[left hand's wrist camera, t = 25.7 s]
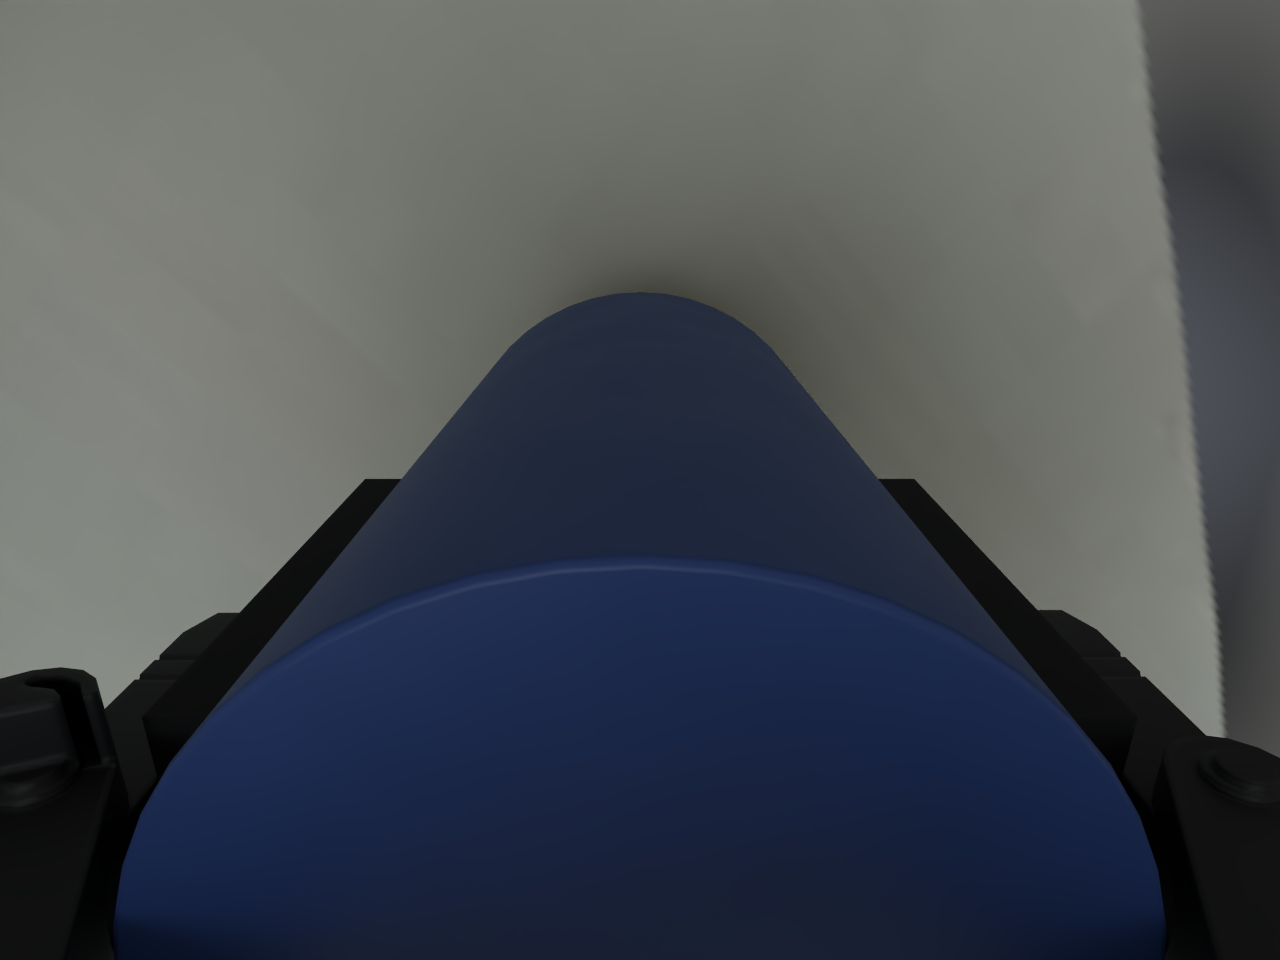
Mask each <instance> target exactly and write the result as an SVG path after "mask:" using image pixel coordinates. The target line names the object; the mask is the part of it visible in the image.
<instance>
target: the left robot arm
mask: <svg viewBox="0 0 1280 960" xmlns="http://www.w3.org/2000/svg"><path fill="white" fill-rule="evenodd" d="M400 480H401V479H365V480H364V481H363V482H362V483H361V484H360V485H359V486H358V487H357V488H356V489H355V491H354V492H353V493H352V494H351V495H350V496H349V497H348V498H347V499H346V500H345V501H344V502H343V503H342V504H341V505H340V506H339V508H338V509H337V510H336V511H335V512H334V513H333V514H332V515H331V516H330V517H329V518H328V519H327V520H326V521H325V522H324V524H323V525H322V526H321V527H320V528H319V529H318V530H317V531H316V532H315V533H314V534H313V535H312V536H311V537H310V538H309V539H308V541H307V542H306V543H305V544H304V545H303V546H302V547H301V548H300V549H299V550H298V551H297V552H296V553H295V554H294V555H293V557H292V558H291V559H290V560H289V561H288V562H287V563H286V564H285V565H284V566H283V567H282V568H281V569H280V570H279V571H278V572H277V574H276V575H275V576H274V577H273V578H272V579H271V580H270V581H269V582H268V583H267V584H266V585H265V586H264V587H263V588H262V590H261V591H260V592H259V593H258V594H257V595H256V596H255V597H254V598H253V599H252V600H251V601H250V602H249V603H248V604H247V605H246V607H245V608H244V609H243V610H242V611H241V612H240V613H217V614H215V615H214V616H212V617H210V618H208V619H206V620H205V621H203V622H201V623H199V624H197V625H196V626H194V627H192V628H190V629H189V630H187V631H185V632H183V633H182V634H181V635H180V636H179V637H178V638H177V639H176V640H175V641H174V642H173V643H172V644H171V645H170V646H169V647H168V648H167V649H166V650H165V651H164V652H163V653H162V654H161V655H160V659H159V660H154V661H153V662H152V663H151V664H150V665H149V666H148V667H147V668H146V669H145V670H144V671H143V672H142V673H141V674H140V679H139V680H134V681H133V682H132V683H131V684H130V685H129V686H128V687H127V688H126V689H125V690H124V691H123V692H122V693H121V694H120V695H119V696H118V697H117V698H116V699H115V700H114V701H112V702H111V703H110V704H109V705H108V706H107V707H106V708H105V709H104V706H103V702H102V698H101V695H100V691H99V688H98V684H97V680H96V678H95V677H93V676H92V675H90V674H89V673H87V672H85V671H84V670H78V669H70V668H61V667H60V668H51V669H41V670H32V671H28V672H24V673H20V674H17V675H13V676H9V677H5V678H1V679H0V960H114V932H113V922H114V915H115V909H116V902H117V896H118V889H119V883H120V876H121V870H122V865H123V862H124V860H125V857H126V854H127V851H128V848H129V845H130V843H131V840H132V837H133V834H134V831H135V828H136V826H137V823H138V820H139V817H140V814H141V812H142V810H143V808H144V807H145V805H146V803H147V801H148V800H149V798H150V796H151V794H152V793H153V791H154V789H155V788H156V786H157V784H158V782H159V781H160V779H161V777H162V775H163V774H164V772H165V770H166V768H167V767H168V765H169V763H170V761H171V760H172V759H173V758H174V757H175V755H176V754H177V753H178V752H179V750H180V749H181V748H182V747H183V746H184V744H185V743H186V742H187V741H188V739H189V738H190V737H191V736H192V735H193V733H194V732H195V731H196V730H197V728H198V727H199V726H200V725H201V724H202V722H203V721H204V720H205V719H206V718H207V716H208V715H209V714H210V713H211V711H212V710H213V709H214V708H215V707H216V705H217V704H218V703H219V702H220V700H221V699H222V698H223V697H224V696H225V694H226V693H227V692H228V691H229V689H230V688H231V687H232V686H233V685H234V683H235V682H236V681H237V680H238V678H239V677H240V676H241V675H242V674H243V672H244V671H245V670H246V669H247V667H248V666H249V665H250V664H251V663H252V661H253V660H254V659H255V658H256V656H257V655H258V654H259V653H260V652H261V650H262V649H263V648H264V647H265V645H266V644H267V643H268V642H269V641H270V639H271V638H272V637H273V636H274V634H275V633H276V632H277V631H278V630H279V628H280V627H281V626H282V625H283V623H284V622H285V621H286V620H287V619H288V617H289V616H290V615H291V614H292V612H293V611H294V610H295V609H296V608H297V606H298V605H299V604H300V603H301V601H302V600H303V599H304V598H305V597H306V595H307V594H308V593H309V592H310V590H311V589H312V588H313V587H314V586H315V584H316V583H317V582H318V581H319V579H320V578H321V577H322V576H323V575H324V573H325V572H326V571H327V570H328V568H329V567H330V566H331V565H332V564H333V562H334V561H335V560H336V559H337V557H338V556H339V555H340V554H341V553H342V551H343V550H344V549H345V548H346V546H347V545H348V544H349V543H350V542H351V540H352V539H353V538H354V537H355V535H356V534H357V533H358V532H359V531H360V529H361V528H362V527H363V526H364V524H365V523H366V522H367V521H368V520H369V518H370V517H371V516H372V515H373V513H374V512H375V511H376V510H377V509H378V507H379V506H380V505H381V504H382V502H383V501H384V500H385V499H386V498H387V496H388V495H389V494H390V493H391V491H392V490H393V489H394V488H395V487H396V485H397V484H398V483H399V482H400ZM878 480H879V481H880V482H881V483H882V485H883V486H884V487H885V488H886V490H887V491H888V492H889V493H890V494H891V496H892V497H893V498H894V499H895V501H896V502H897V503H898V504H899V506H900V507H901V508H902V509H903V510H904V512H905V513H906V514H907V515H908V517H909V518H910V519H911V520H912V521H913V523H914V524H915V525H916V526H917V528H918V529H919V530H920V531H921V532H922V534H923V535H924V536H925V537H926V539H927V540H928V541H929V542H930V544H931V545H932V546H933V547H934V548H935V550H936V551H937V552H938V553H939V555H940V556H941V557H942V558H943V559H944V561H945V562H946V563H947V564H948V566H949V567H950V568H951V569H952V570H953V572H954V573H955V574H956V575H957V577H958V578H959V579H960V580H961V582H962V583H963V584H964V585H965V586H966V588H967V589H968V590H969V591H970V593H971V594H972V595H973V596H974V597H975V599H976V600H977V601H978V602H979V604H980V605H981V606H982V607H983V608H984V610H985V611H986V612H987V613H988V615H989V616H990V617H991V618H992V620H993V621H994V622H995V623H996V624H997V626H998V627H999V628H1000V629H1001V631H1002V632H1003V633H1004V634H1005V635H1006V637H1007V638H1008V639H1009V640H1010V642H1011V643H1012V644H1013V645H1014V646H1015V648H1016V649H1017V650H1018V651H1019V653H1020V654H1021V655H1022V656H1023V658H1024V659H1025V660H1026V661H1027V662H1028V664H1029V665H1030V666H1031V667H1032V669H1033V670H1034V671H1035V672H1036V673H1037V675H1038V676H1039V677H1040V678H1041V680H1042V681H1043V682H1044V683H1045V684H1046V686H1047V687H1048V688H1049V689H1050V691H1051V692H1052V693H1053V694H1054V696H1055V697H1056V698H1057V699H1058V700H1059V702H1060V703H1061V704H1062V705H1063V707H1064V708H1065V709H1066V710H1067V711H1068V713H1069V714H1070V715H1071V716H1072V718H1073V719H1074V720H1075V721H1076V722H1077V724H1078V725H1079V726H1080V727H1081V729H1082V730H1083V731H1084V732H1085V734H1086V735H1087V736H1088V737H1089V738H1090V740H1091V741H1092V742H1093V743H1094V745H1095V746H1096V747H1097V748H1098V749H1099V751H1100V752H1101V753H1102V754H1103V756H1104V757H1105V758H1106V759H1107V760H1108V762H1109V763H1110V764H1111V766H1112V768H1113V769H1114V771H1115V773H1116V775H1117V777H1118V778H1119V780H1120V782H1121V784H1122V785H1123V787H1124V789H1125V791H1126V793H1127V794H1128V796H1129V798H1130V800H1131V801H1132V803H1133V805H1134V807H1135V808H1136V810H1137V812H1138V814H1139V816H1140V819H1141V821H1142V824H1143V827H1144V830H1145V833H1146V836H1147V839H1148V842H1149V845H1150V848H1151V851H1152V854H1153V856H1154V859H1155V862H1156V865H1157V869H1158V873H1159V880H1160V887H1161V894H1162V901H1163V908H1164V915H1165V921H1166V943H1165V960H1280V758H1279V757H1276V756H1274V755H1272V754H1270V753H1268V752H1266V751H1264V750H1262V749H1260V748H1257V747H1254V746H1251V745H1247V744H1244V743H1241V742H1238V741H1234V740H1231V739H1228V738H1220V737H1212V736H1206V735H1205V734H1204V733H1203V732H1202V731H1201V730H1200V729H1199V728H1198V727H1197V726H1196V725H1195V724H1194V723H1193V722H1192V721H1191V720H1189V719H1188V718H1187V717H1186V716H1185V715H1184V714H1183V713H1182V712H1181V711H1180V710H1179V709H1178V708H1177V707H1176V706H1175V705H1174V704H1173V703H1172V702H1171V701H1170V700H1169V699H1168V698H1167V697H1166V696H1165V695H1164V694H1163V693H1162V692H1161V691H1160V690H1159V689H1158V688H1156V687H1155V686H1154V685H1153V684H1152V683H1151V682H1150V681H1149V680H1148V679H1147V678H1146V677H1141V676H1140V671H1139V670H1138V669H1137V668H1136V667H1135V666H1134V665H1133V664H1132V663H1131V662H1130V661H1129V660H1128V659H1127V658H1126V657H1121V655H1120V652H1119V651H1118V650H1117V649H1116V648H1115V647H1114V646H1113V645H1112V644H1111V643H1110V642H1109V641H1108V640H1107V639H1106V638H1105V637H1104V636H1103V635H1102V634H1101V633H1100V632H1099V631H1098V630H1096V629H1095V628H1093V627H1091V626H1089V625H1087V624H1086V623H1084V622H1082V621H1080V620H1078V619H1077V618H1075V617H1073V616H1071V615H1069V614H1068V613H1066V612H1064V611H1062V610H1037V609H1036V608H1035V607H1034V606H1033V605H1032V604H1031V603H1030V602H1029V601H1028V600H1027V599H1026V598H1025V597H1024V595H1023V594H1022V593H1021V592H1020V591H1019V590H1018V589H1017V588H1016V587H1015V586H1014V585H1013V584H1012V583H1011V582H1010V581H1009V579H1008V578H1007V577H1006V576H1005V575H1004V574H1003V573H1002V572H1001V571H1000V570H999V569H998V568H997V567H996V566H995V565H994V564H993V562H992V561H991V560H990V559H989V558H988V557H987V556H986V555H985V554H984V553H983V552H982V551H981V550H980V549H979V548H978V546H977V545H976V544H975V543H974V542H973V541H972V540H971V539H970V538H969V537H968V536H967V535H966V534H965V533H964V532H963V530H962V529H961V528H960V527H959V526H958V525H957V524H956V523H955V522H954V521H953V520H952V519H951V518H950V517H949V516H948V515H947V513H946V512H945V511H944V510H943V509H942V508H941V507H940V506H939V505H938V504H937V503H936V502H935V501H934V500H933V499H932V497H931V496H930V495H929V494H928V493H927V492H926V491H925V490H924V489H923V488H922V487H921V486H920V485H919V484H918V483H917V482H916V480H915V479H878Z"/></svg>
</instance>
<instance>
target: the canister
mask: <svg viewBox="0 0 1280 960" xmlns="http://www.w3.org/2000/svg"><path fill="white" fill-rule="evenodd" d="M113 932H114V960H1165V943H1166V921H1165V915H1164V908H1163V901H1162V894H1161V887H1160V880H1159V873H1158V869H1157V865H1156V862H1155V859H1154V856H1153V854H1152V851H1151V848H1150V845H1149V842H1148V839H1147V836H1146V833H1145V830H1144V827H1143V824H1142V821H1141V819H1140V816H1139V814H1138V812H1137V810H1136V808H1135V807H1134V805H1133V803H1132V801H1131V800H1130V798H1129V796H1128V794H1127V793H1126V791H1125V789H1124V787H1123V785H1122V784H1121V782H1120V780H1119V778H1118V777H1117V775H1116V773H1115V771H1114V769H1113V768H1112V766H1111V764H1110V763H1109V762H1108V760H1107V759H1106V758H1105V757H1104V756H1103V754H1102V753H1101V752H1100V751H1099V749H1098V748H1097V747H1096V746H1095V745H1094V743H1093V742H1092V741H1091V740H1090V738H1089V737H1088V736H1087V735H1086V734H1085V732H1084V731H1083V730H1082V729H1081V727H1080V726H1079V725H1078V724H1077V722H1076V721H1075V720H1074V719H1073V718H1072V716H1071V715H1070V714H1069V713H1068V711H1067V710H1066V709H1065V708H1064V707H1063V705H1062V704H1061V703H1060V702H1059V700H1058V699H1057V698H1056V697H1055V696H1054V694H1053V693H1052V692H1051V691H1050V689H1049V688H1048V687H1047V686H1046V684H1045V683H1044V682H1043V681H1042V680H1041V678H1040V677H1039V676H1038V675H1037V673H1036V672H1035V671H1034V670H1033V669H1032V667H1031V666H1030V665H1029V664H1028V662H1027V661H1026V660H1025V659H1024V658H1023V656H1022V655H1021V654H1020V653H1019V651H1018V650H1017V649H1016V648H1015V646H1014V645H1013V644H1012V643H1011V642H1010V640H1009V639H1008V638H1007V637H1006V635H1005V634H1004V633H1003V632H1002V631H1001V629H1000V628H999V627H998V626H997V624H996V623H995V622H994V621H993V620H992V618H991V617H990V616H989V615H988V613H987V612H986V611H985V610H984V608H983V607H982V606H981V605H980V604H979V602H978V601H977V600H976V599H975V597H974V596H973V595H972V594H971V593H970V591H969V590H968V589H967V588H966V586H965V585H964V584H963V583H962V582H961V580H960V579H959V578H958V577H957V575H956V574H955V573H954V572H953V570H952V569H951V568H950V567H949V566H948V564H947V563H946V562H945V561H944V559H943V558H942V557H941V556H940V555H939V553H938V552H937V551H936V550H935V548H934V547H933V546H932V545H931V544H930V542H929V541H928V540H927V539H926V537H925V536H924V535H923V534H922V532H921V531H920V530H919V529H918V528H917V526H916V525H915V524H914V523H913V521H912V520H911V519H910V518H909V517H908V515H907V514H906V513H905V512H904V510H903V509H902V508H901V507H900V506H899V504H898V503H897V502H896V501H895V499H894V498H893V497H892V496H891V494H890V493H889V492H888V491H887V490H886V488H885V487H884V486H883V485H882V483H881V482H880V481H879V480H878V479H877V477H876V476H875V475H874V474H873V472H872V471H871V470H870V469H869V468H868V466H867V465H866V464H865V463H864V461H863V460H862V459H861V458H860V456H859V455H858V454H857V453H856V452H855V450H854V449H853V448H852V447H851V445H850V444H849V443H848V442H847V441H846V439H845V438H844V437H843V436H842V434H841V433H840V432H839V431H838V430H837V428H836V427H835V426H834V425H833V423H832V422H831V421H830V420H829V418H828V417H827V416H826V415H825V414H824V412H823V411H822V410H821V409H820V407H819V406H818V405H817V404H816V403H815V401H814V400H813V399H812V398H811V396H810V395H809V394H808V393H807V392H806V390H805V389H804V388H803V387H802V385H801V384H800V383H799V382H798V380H797V379H796V378H795V377H794V376H793V374H792V373H791V372H790V371H789V369H788V368H787V367H786V366H785V365H784V363H783V362H782V361H781V360H780V358H779V357H778V356H777V355H776V354H775V352H774V351H773V350H772V349H771V348H770V347H769V346H768V345H767V344H766V343H765V342H764V341H763V340H762V339H761V338H760V337H759V336H757V335H756V334H755V333H754V332H753V331H752V330H750V329H749V328H747V327H746V326H744V325H743V324H742V323H740V322H739V321H737V320H736V319H734V318H733V317H731V316H729V315H727V314H725V313H723V312H721V311H719V310H717V309H715V308H713V307H710V306H708V305H705V304H702V303H699V302H696V301H693V300H691V299H687V298H682V297H677V296H672V295H667V294H657V293H643V292H638V293H623V294H613V295H608V296H603V297H598V298H593V299H590V300H587V301H584V302H581V303H578V304H575V305H572V306H569V307H567V308H565V309H563V310H561V311H559V312H557V313H555V314H553V315H551V316H549V317H547V318H546V319H544V320H543V321H541V322H540V323H538V324H537V325H535V326H534V327H533V328H531V329H530V330H528V331H527V332H526V333H525V334H524V335H522V336H521V337H520V338H519V339H518V340H517V341H516V342H515V343H514V344H513V345H512V346H510V347H509V349H508V350H507V351H506V352H505V353H504V355H503V356H502V357H501V358H500V360H499V361H498V362H497V363H496V364H495V366H494V367H493V368H492V369H491V370H490V372H489V373H488V374H487V375H486V377H485V378H484V379H483V380H482V381H481V383H480V384H479V385H478V386H477V388H476V389H475V390H474V391H473V392H472V394H471V395H470V396H469V397H468V399H467V400H466V401H465V402H464V403H463V405H462V406H461V407H460V408H459V410H458V411H457V412H456V413H455V414H454V416H453V417H452V418H451V419H450V421H449V422H448V423H447V424H446V425H445V427H444V428H443V429H442V430H441V432H440V433H439V434H438V435H437V436H436V438H435V439H434V440H433V441H432V443H431V444H430V445H429V446H428V447H427V449H426V450H425V451H424V452H423V454H422V455H421V456H420V457H419V458H418V460H417V461H416V462H415V463H414V465H413V466H412V467H411V468H410V469H409V471H408V472H407V473H406V474H405V476H404V477H403V478H402V479H401V480H400V482H399V483H398V484H397V485H396V487H395V488H394V489H393V490H392V491H391V493H390V494H389V495H388V496H387V498H386V499H385V500H384V501H383V502H382V504H381V505H380V506H379V507H378V509H377V510H376V511H375V512H374V513H373V515H372V516H371V517H370V518H369V520H368V521H367V522H366V523H365V524H364V526H363V527H362V528H361V529H360V531H359V532H358V533H357V534H356V535H355V537H354V538H353V539H352V540H351V542H350V543H349V544H348V545H347V546H346V548H345V549H344V550H343V551H342V553H341V554H340V555H339V556H338V557H337V559H336V560H335V561H334V562H333V564H332V565H331V566H330V567H329V568H328V570H327V571H326V572H325V573H324V575H323V576H322V577H321V578H320V579H319V581H318V582H317V583H316V584H315V586H314V587H313V588H312V589H311V590H310V592H309V593H308V594H307V595H306V597H305V598H304V599H303V600H302V601H301V603H300V604H299V605H298V606H297V608H296V609H295V610H294V611H293V612H292V614H291V615H290V616H289V617H288V619H287V620H286V621H285V622H284V623H283V625H282V626H281V627H280V628H279V630H278V631H277V632H276V633H275V634H274V636H273V637H272V638H271V639H270V641H269V642H268V643H267V644H266V645H265V647H264V648H263V649H262V650H261V652H260V653H259V654H258V655H257V656H256V658H255V659H254V660H253V661H252V663H251V664H250V665H249V666H248V667H247V669H246V670H245V671H244V672H243V674H242V675H241V676H240V677H239V678H238V680H237V681H236V682H235V683H234V685H233V686H232V687H231V688H230V689H229V691H228V692H227V693H226V694H225V696H224V697H223V698H222V699H221V700H220V702H219V703H218V704H217V705H216V707H215V708H214V709H213V710H212V711H211V713H210V714H209V715H208V716H207V718H206V719H205V720H204V721H203V722H202V724H201V725H200V726H199V727H198V728H197V730H196V731H195V732H194V733H193V735H192V736H191V737H190V738H189V739H188V741H187V742H186V743H185V744H184V746H183V747H182V748H181V749H180V750H179V752H178V753H177V754H176V755H175V757H174V758H173V759H172V760H171V761H170V763H169V765H168V767H167V768H166V770H165V772H164V774H163V775H162V777H161V779H160V781H159V782H158V784H157V786H156V788H155V789H154V791H153V793H152V794H151V796H150V798H149V800H148V801H147V803H146V805H145V807H144V808H143V810H142V812H141V814H140V817H139V820H138V823H137V826H136V828H135V831H134V834H133V837H132V840H131V843H130V845H129V848H128V851H127V854H126V857H125V860H124V862H123V865H122V870H121V876H120V883H119V889H118V896H117V902H116V909H115V915H114V922H113Z"/></svg>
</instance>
